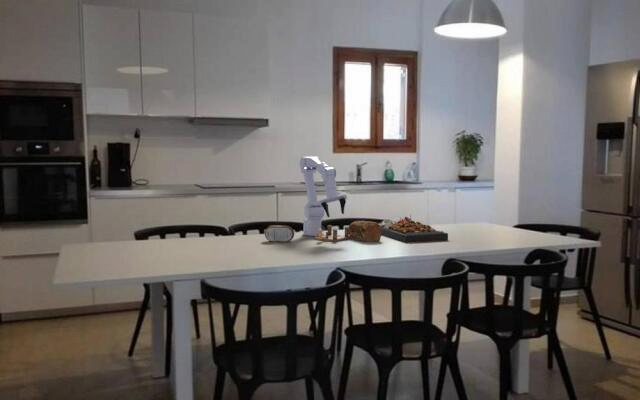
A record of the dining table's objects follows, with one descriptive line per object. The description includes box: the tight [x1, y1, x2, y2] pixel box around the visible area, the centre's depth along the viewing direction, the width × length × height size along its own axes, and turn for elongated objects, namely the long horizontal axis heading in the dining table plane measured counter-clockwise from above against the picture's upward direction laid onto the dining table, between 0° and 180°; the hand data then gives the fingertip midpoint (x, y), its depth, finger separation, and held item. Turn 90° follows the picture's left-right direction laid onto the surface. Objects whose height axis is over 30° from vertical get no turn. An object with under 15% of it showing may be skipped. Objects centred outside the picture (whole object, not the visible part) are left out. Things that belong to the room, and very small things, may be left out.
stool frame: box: [313, 224, 352, 243], centre depth 290 cm, size 14×14×6 cm
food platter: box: [377, 214, 449, 244], centre depth 304 cm, size 45×25×10 cm, turn 19°
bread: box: [348, 220, 382, 243], centre depth 290 cm, size 19×11×10 cm, turn 22°
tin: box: [264, 224, 295, 243], centre depth 281 cm, size 15×3×8 cm, turn 84°
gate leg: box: [317, 228, 327, 239], centre depth 282 cm, size 6×2×5 cm, turn 144°
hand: (335, 215), depth 279 cm, fingers open, 7 cm apart
